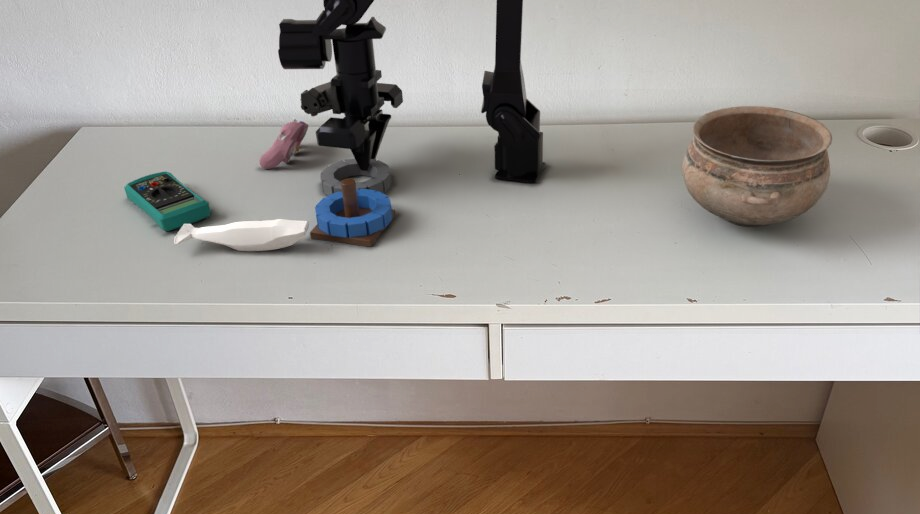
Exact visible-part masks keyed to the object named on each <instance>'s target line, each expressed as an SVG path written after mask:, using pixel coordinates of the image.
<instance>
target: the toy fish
mask: <svg viewBox="0 0 920 514" xmlns="http://www.w3.org/2000/svg"><path fill="white" fill-rule="evenodd" d="M309 227H310V221H309V220H297V219H296V220H295V219H293V220H292V219H285V218H276V219H269V220H267V219H266V220H246V221H235V222H234V221H233V222H230V223H227V224H221V225H210V226H202V227H195V226H194V225H192V224H184V225H183V226H182V227H180V228H179V230H178V231H177V233H176V235H175V236H174V238H173V245H175V246H177V245H180V244H183V243H185V242H187V241H189V240H191V239H196V240H200V241H204V242H205V241H206V242H211V243H215V244H218V245H219V244H220V245H223V246H226V247H228V248H230V249H233V250H235V251H239V252H264V251H273V250H278V249H284V248H286V247H291V246H294V245H295V244H297V243H298V242H299V241H301V240H302V239H303V238H305V236H306V234H307V232H308V230H309Z"/></svg>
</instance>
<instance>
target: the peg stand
mask: <svg viewBox="0 0 920 514" xmlns="http://www.w3.org/2000/svg"><path fill="white" fill-rule="evenodd" d="M340 182H341V189H342V196H343V203H344V210H342V211H340V212H337V213H336V214H335V215H336V216H339V217H346V218H352V217H360V216H363V215H366V214H368V213H370V212H372V211H373V210H371V209H368V208H361V207H359V205H358V198H357V190H356V183H357V182H356V179H354V178H351V177H346V178H344V179H341V180H340ZM396 215H397V214H396V209H393V208H392V216H393V218H392V220H391V221H390V223H391V222H392V221H393V219H394V218H395V217H396ZM388 226H389V224H388V225H387V226H386V227H384V229H382V230H379V231H377V232H375V233H373V234H370V235H369V234H368V233H367V236H359V237H352V238H350V237H349V236H348V237H347V238H345V237H338V236H331V234H330V235H328V234H327V233H325V232H323V231H322V230H320V229H319V227H318V224H316V225H315V226H314V227H313V228H312V229H311V230H310V232H309V236H310V239H314V240H321V241H328V242H333V243H334V242H335V243H341V244H347V245H348V244H349V245H355V246H361V247H368V248H370V247H372V245H374V243H375V242H376V241H377V240H378V238H379V237H380V236H381V235H382V233H383V232H384V231H385V229H386V228H387V227H388Z"/></svg>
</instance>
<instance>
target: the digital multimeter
mask: <svg viewBox="0 0 920 514" xmlns="http://www.w3.org/2000/svg"><path fill="white" fill-rule="evenodd" d="M123 188H124V191H125V195H126V199H128V200H129V201H130V202H132V203H133V204H134V205H136V206H137V207H138V208H140V209H141V210H142V211H143V212H144V213H146V214H147V215H148V216H149V217H150V218H151V219H152V220H153V222H154V223H156V225H157V226H158V227H159V228H160V229H161V230H162V231H164V232H171V231H175V230H176V229H181V227H182V226H183V225H184V224H191V225H192V224H194V223H198V222H199V221H202V220H205V219H206V218H209V217H210V216H211V214H212V212H211V207H210V203H209V202H208V201H207V200H206V199H204V198H202V197H201V196H199V195H198V194H196V193H195V192H193V191H192V190H191V189H190V188H188V187H187V186H186V185H184V184H183V183H182V182H181V181H180V180H179V179H177V177H175V176H174V174H172V173H171V172H169V171H160V172H156V173H152V174H148V175H143V176H142V177H139V178H137V179H134V180H132V181H130V182H127V184H126V185H125V186H124V187H123Z"/></svg>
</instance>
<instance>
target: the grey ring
mask: <svg viewBox="0 0 920 514" xmlns="http://www.w3.org/2000/svg"><path fill="white" fill-rule="evenodd" d="M357 176H364V177H365V176H366V177H371V178H368V179H367V180H364V181H358V182H356V189H358V190H360V189H369V190H376V192H377V191H379V192H381V193H383V194H384V193H386V192H387V191H388V190H389V189H390V188H391V186H392V182H393V181H392V172H391V169H390V166H389V165H388V164H387V163H385V162H384V161H381V160H379V159H377V158H376V159H370V163H369V167H368V170H367V171H363V170H361V169H360V168H359V166H358V164H357V162H356V160H355V158H354V157H353V158H347V159H344V160H339V161H336V162H334V163H331V164H329V165H328V166H326V167H325V168H324V169H323V170H322V171H321V172H320V182H321V188H322V193H323V194H324V195H326V196H328V195H331V194H333V193H336V192H338V191H339V192H341V193H342V189H341V181H342V180H344V179H347V178H350V177H357Z"/></svg>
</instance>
